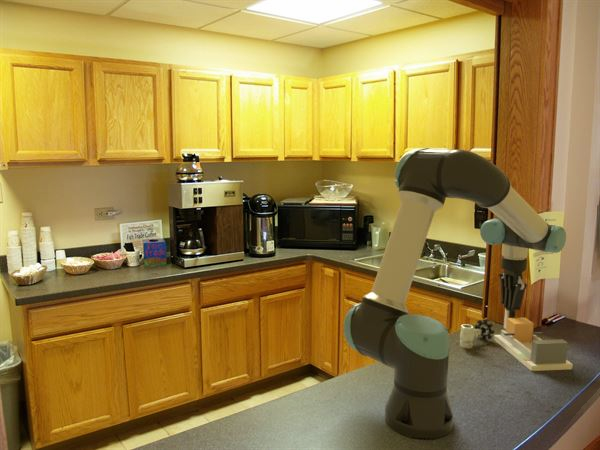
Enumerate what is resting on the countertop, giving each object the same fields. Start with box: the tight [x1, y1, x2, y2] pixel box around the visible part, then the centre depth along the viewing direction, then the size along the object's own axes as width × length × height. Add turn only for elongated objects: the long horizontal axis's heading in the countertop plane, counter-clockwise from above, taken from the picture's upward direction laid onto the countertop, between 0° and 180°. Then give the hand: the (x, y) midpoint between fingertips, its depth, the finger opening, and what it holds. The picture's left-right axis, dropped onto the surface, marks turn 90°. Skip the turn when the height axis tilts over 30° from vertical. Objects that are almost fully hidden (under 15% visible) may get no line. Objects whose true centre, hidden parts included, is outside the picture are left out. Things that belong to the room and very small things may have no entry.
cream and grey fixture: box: [493, 329, 574, 372], centre depth 149 cm, size 12×22×8 cm, turn 5°
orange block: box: [504, 317, 544, 342], centre depth 156 cm, size 12×5×6 cm, turn 95°
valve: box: [459, 319, 496, 349], centre depth 156 cm, size 7×7×12 cm
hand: (508, 328), depth 162 cm, fingers closed
